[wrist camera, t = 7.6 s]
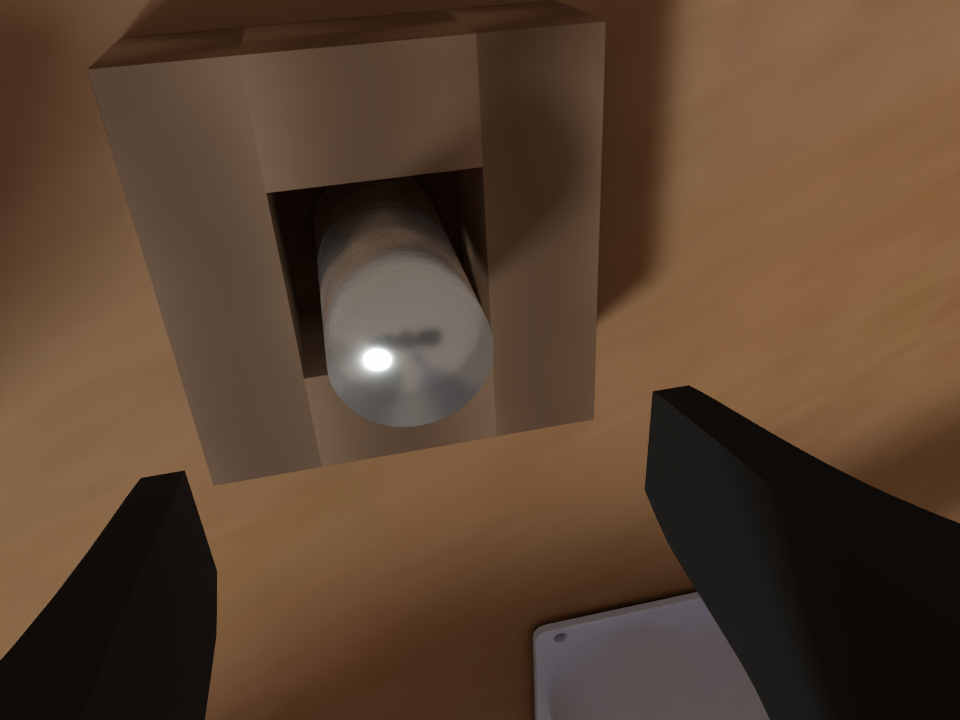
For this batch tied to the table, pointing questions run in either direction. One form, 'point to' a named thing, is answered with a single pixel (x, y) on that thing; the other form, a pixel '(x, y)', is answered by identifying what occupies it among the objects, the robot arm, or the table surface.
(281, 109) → the square hole block
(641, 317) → the table surface
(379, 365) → the round metal peg
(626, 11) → the table surface
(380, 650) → the table surface
